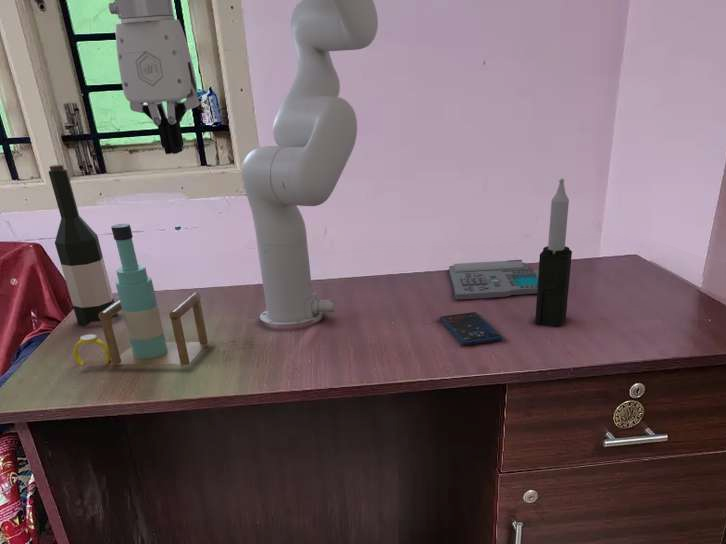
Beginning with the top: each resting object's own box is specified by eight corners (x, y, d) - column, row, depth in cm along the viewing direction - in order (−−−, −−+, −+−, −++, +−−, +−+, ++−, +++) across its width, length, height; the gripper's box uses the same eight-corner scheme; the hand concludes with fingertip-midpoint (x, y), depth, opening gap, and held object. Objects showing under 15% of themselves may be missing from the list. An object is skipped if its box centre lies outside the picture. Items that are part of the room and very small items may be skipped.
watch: (77, 373, 126) (67, 340, 123) (81, 367, 129) (72, 335, 125) (111, 370, 126) (102, 338, 123) (115, 364, 129) (106, 332, 125)
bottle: (208, 325, 128) (131, 214, 119) (196, 337, 123) (115, 222, 114) (151, 358, 134) (73, 254, 125) (137, 371, 129) (55, 263, 120)
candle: (566, 318, 136) (580, 176, 122) (560, 327, 132) (573, 181, 119) (540, 316, 138) (550, 175, 124) (533, 324, 134) (543, 180, 121)
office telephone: (448, 259, 167) (534, 255, 166) (448, 271, 168) (533, 266, 167) (456, 287, 147) (553, 282, 146) (456, 300, 149) (552, 295, 148)
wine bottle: (106, 327, 146) (63, 168, 130) (70, 327, 148) (23, 169, 132) (126, 314, 153) (87, 161, 137) (91, 314, 155) (49, 163, 139)
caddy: (210, 347, 133) (200, 291, 128) (189, 370, 124) (177, 311, 119) (137, 347, 136) (124, 292, 130) (111, 370, 126) (95, 312, 121)
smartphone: (475, 311, 139) (503, 336, 127) (475, 315, 140) (503, 341, 127) (438, 316, 138) (462, 342, 126) (438, 320, 139) (462, 346, 126)
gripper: (84, 14, 99) (119, 158, 109) (186, 5, 97) (211, 154, 107) (108, 14, 105) (139, 151, 115) (205, 6, 103) (227, 146, 113)
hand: (174, 152), depth 111 cm, fingers closed
